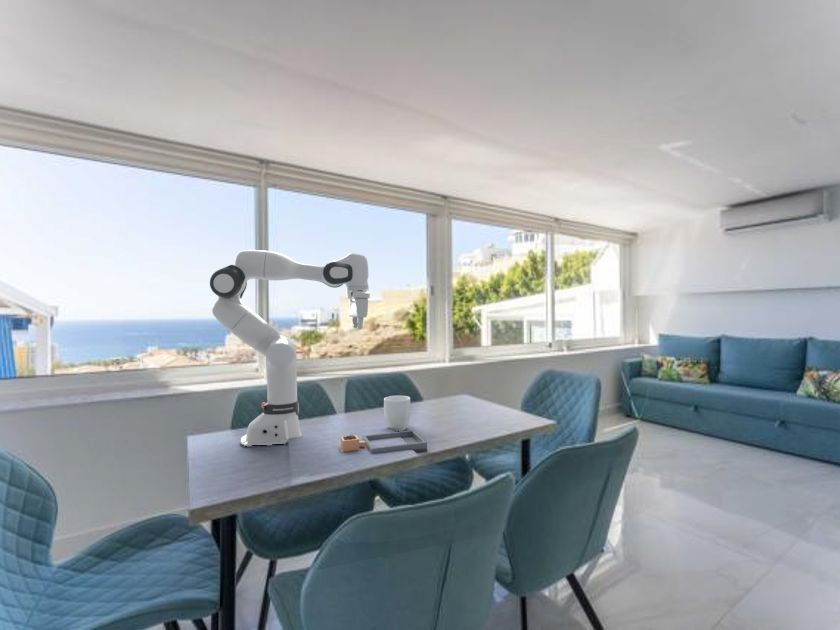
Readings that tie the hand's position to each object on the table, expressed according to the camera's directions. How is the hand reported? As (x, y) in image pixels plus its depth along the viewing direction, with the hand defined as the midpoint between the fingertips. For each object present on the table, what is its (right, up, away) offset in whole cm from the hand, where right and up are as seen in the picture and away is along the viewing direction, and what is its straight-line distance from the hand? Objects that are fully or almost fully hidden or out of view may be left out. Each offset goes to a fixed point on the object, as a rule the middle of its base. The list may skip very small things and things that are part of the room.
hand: (357, 328), depth 172 cm
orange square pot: (0, -43, -22) cm, 48 cm away
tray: (+16, -43, -17) cm, 48 cm away
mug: (+16, -42, +7) cm, 46 cm away
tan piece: (+2, -41, -22) cm, 47 cm away
